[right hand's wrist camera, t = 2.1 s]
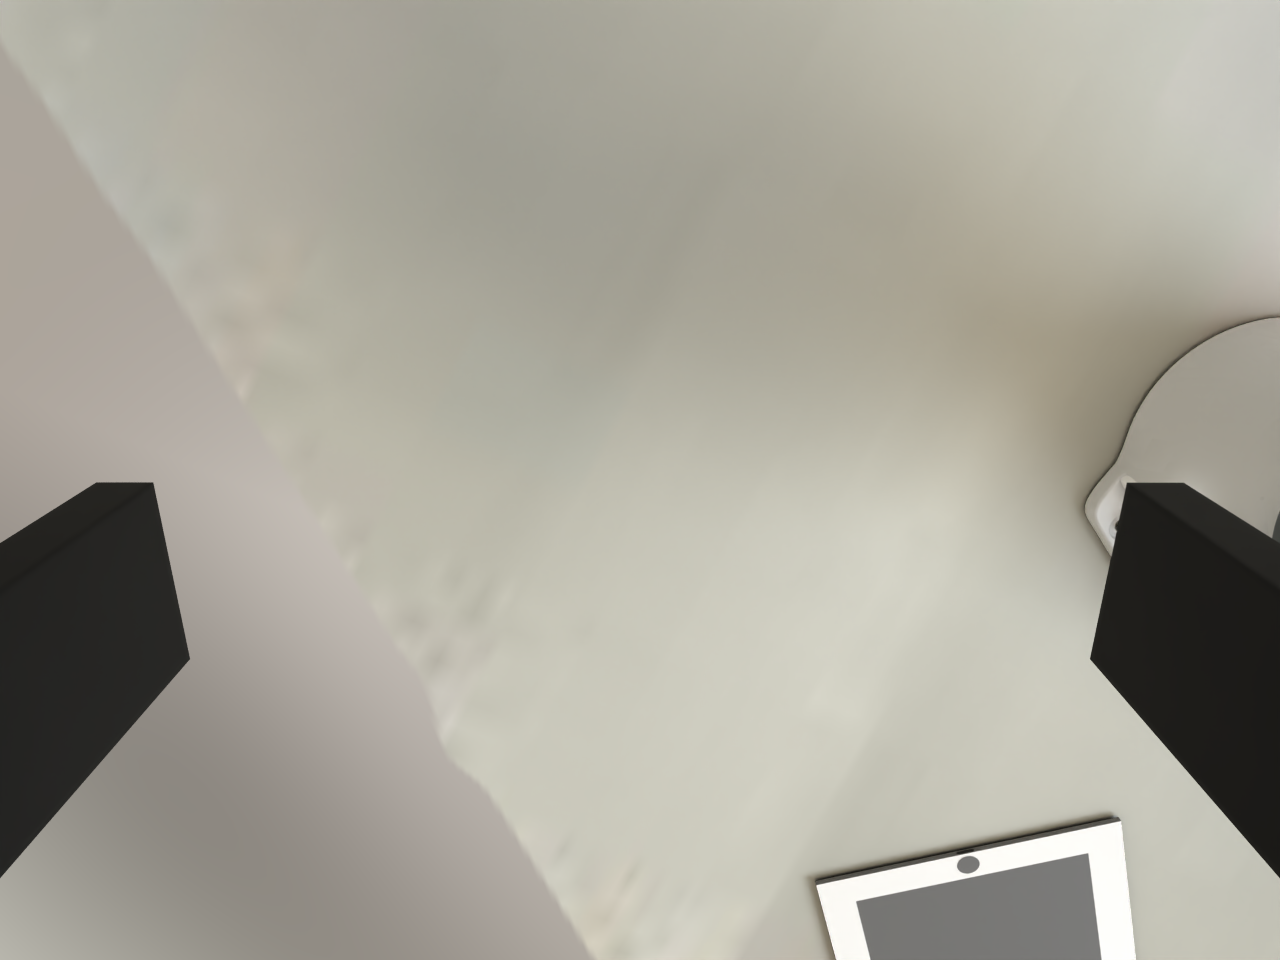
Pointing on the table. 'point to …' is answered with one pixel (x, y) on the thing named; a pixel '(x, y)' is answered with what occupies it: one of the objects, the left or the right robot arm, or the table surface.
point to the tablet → (991, 902)
